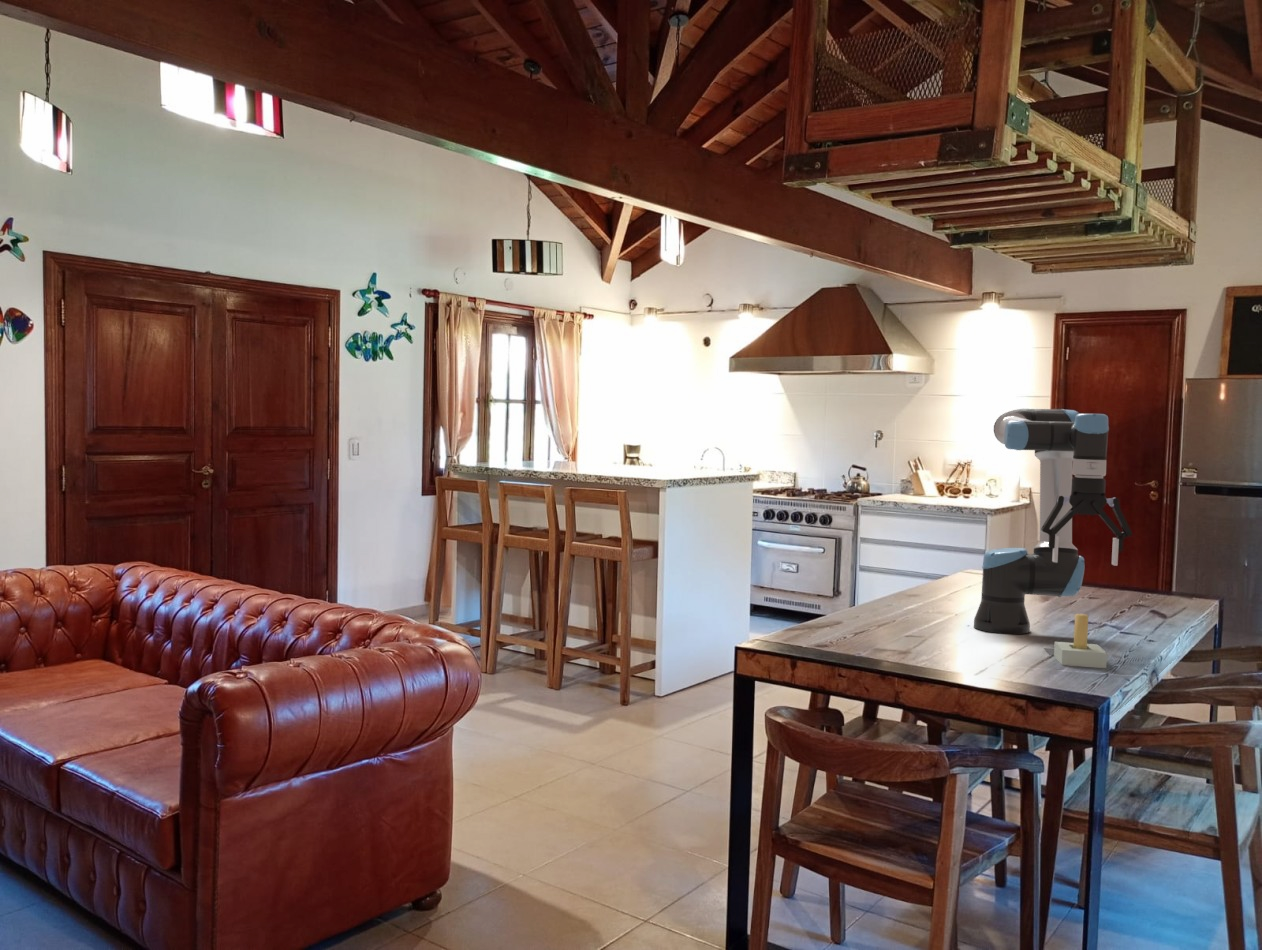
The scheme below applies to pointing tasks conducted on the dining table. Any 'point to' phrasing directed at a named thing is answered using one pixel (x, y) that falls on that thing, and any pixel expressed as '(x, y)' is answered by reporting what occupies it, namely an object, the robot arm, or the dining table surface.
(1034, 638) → the dining table surface
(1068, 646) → the hole block
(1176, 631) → the dining table surface
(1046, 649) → the mat
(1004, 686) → the dining table surface
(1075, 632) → the peg
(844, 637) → the dining table surface
